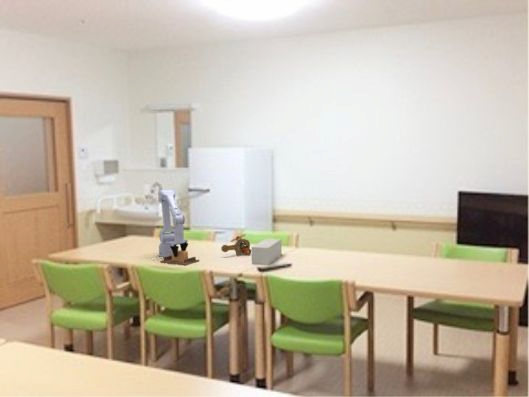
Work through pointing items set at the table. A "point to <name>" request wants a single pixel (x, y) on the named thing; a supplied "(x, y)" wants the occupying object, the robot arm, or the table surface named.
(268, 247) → the grey rectangular brick
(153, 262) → the table surface
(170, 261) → the walnut cradle
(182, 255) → the tall tan cuboid
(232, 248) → the brown lumpy shape
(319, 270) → the table surface
